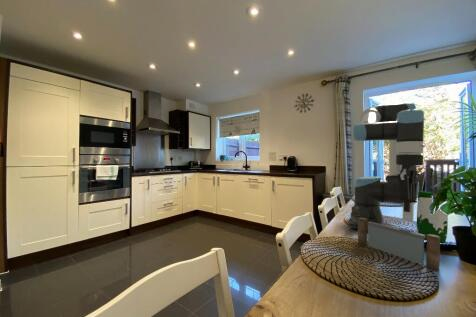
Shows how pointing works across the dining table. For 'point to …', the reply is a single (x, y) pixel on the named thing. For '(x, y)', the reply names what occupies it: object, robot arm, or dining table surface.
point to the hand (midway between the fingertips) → (407, 220)
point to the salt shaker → (354, 219)
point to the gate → (396, 241)
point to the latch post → (433, 252)
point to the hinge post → (362, 231)
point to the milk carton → (430, 218)
